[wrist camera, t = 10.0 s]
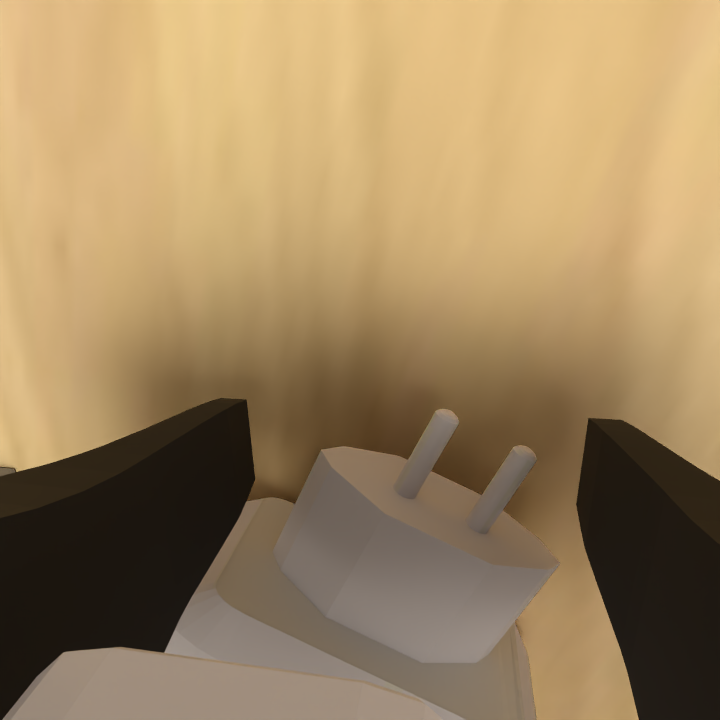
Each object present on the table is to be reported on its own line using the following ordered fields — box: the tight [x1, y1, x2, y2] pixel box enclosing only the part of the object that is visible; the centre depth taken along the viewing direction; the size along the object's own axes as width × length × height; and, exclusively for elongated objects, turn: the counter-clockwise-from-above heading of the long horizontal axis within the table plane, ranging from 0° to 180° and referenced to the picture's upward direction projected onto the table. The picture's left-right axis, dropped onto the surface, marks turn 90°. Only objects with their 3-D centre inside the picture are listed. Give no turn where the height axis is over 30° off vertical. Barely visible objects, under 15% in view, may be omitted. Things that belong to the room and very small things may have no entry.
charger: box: [164, 409, 560, 720], centre depth 14 cm, size 5×9×15 cm
